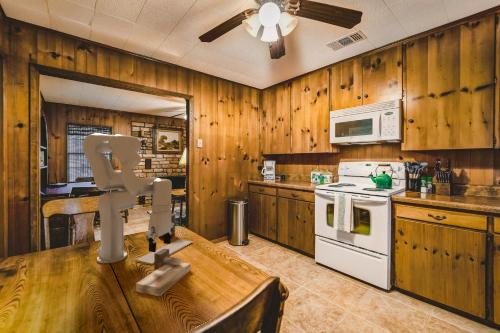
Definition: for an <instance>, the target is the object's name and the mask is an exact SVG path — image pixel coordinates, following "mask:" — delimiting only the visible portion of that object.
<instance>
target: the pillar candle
mask: <svg viewBox="0 0 500 333" xmlns="http://www.w3.org/2000/svg"><path fill="white" fill-rule="evenodd" d="M171 222H172V223H174V226H173V230H172V234H171V239H173V238H172V237H174V236H175V237H176V214H175V213H172V212H171ZM175 237H174V238H175ZM158 239H160V240H164V235H162V236H159V237H158Z"/></svg>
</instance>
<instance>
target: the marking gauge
mask: <svg viewBox="0 0 500 333" xmlns="http://www.w3.org/2000/svg"><path fill="white" fill-rule="evenodd" d="M181 262H182V260H181V258H179V257H171V256H170V255H169V249H162V250H160V251H158V252H157V253H155V254H154V264H153V267H154V270H153V272H154V271H155V270H157V269H158V268H160V267H161V266H163V265H164V264H173V265H179V264H180V263H181Z"/></svg>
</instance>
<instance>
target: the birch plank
mask: <svg viewBox="0 0 500 333" xmlns="http://www.w3.org/2000/svg"><path fill="white" fill-rule="evenodd" d="M190 271H191V263H189V262H182V261H181V263H180V264H179V265H173V264H164V265H163V266H161V267H160V268H158V269H157V270H155V271H154V270H153V271H152V272H151V273H149V274H148V275H146V276H145V277H143V278H142V279H140V280H139V281H137V282H136V283H135V286H136V287H135V292H138V293H141V294H147V295H152V296H157V297H161V296H162V295H164V293H166V292H167V291H168V290H169V289H171V288H172V287H173V286H174V285H175V284H176V283H178V282H179V281H180V280H181V279H183V278H184V277H185V276H186V275H188V274H189V272H190Z"/></svg>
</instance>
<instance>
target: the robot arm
mask: <svg viewBox="0 0 500 333" xmlns="http://www.w3.org/2000/svg"><path fill="white" fill-rule="evenodd" d="M141 149H142V143H141V141H140V139H139V138H138V137H136V136H134V135H126V134H115V135H114V134H104V133H91V134H88V135H86V136H85V137H84V139H83V142H82V151H83V154H84V156H85V158H86V160H87V162H88V164H89V166H90V170H91V173H92V176H93V180H94V183H95V185H96V188H97V189H98V190H99V191H102V192H105V191H108V192H106V193H103V194H101V195H100V196H99V197H98V199H97V207H98V208H97V209H98V211H99V218H100V219H99V220H100V226H99V228H100V246H99V247H98V249H96V250H95V253H97V254H98V256H97V258H96V262H97V263H98V264H112V263H117V262H120V261H123V260H124V259H126V258H127V257H128V252H127V251H125V250H124V249H125V246H124V242H125V239H124V230H125V229H124V228H125V227H124V218H123V216H122V214H121V213H120V211H124V210H125V211H126V210H128V209H132V208H134V207H135V206H136V205H137V203H138V202H137V201H138V197H142V196H148V195H152V200H151V201H152V205H151V212H150V215H149V220H148V227H147V231H146V233H145V235H144V236H145V238H146V241H147V243H148V252H149V253H151V252H156V250H157V239H158V238H159V236H162V235H164V239H163V244H166V245H168V244H170V243H172V242H171V240H172V238H171V234H172V230H173V226H174V223H172V222H171V213H172V211H171V210H172V189H173V188H172V187H173V186H172V185H173V184H172V180H170V179H167V178H159V177H157V176H150V177H148V176H146V177H138V176H137V175H136V173H135V171H134V170H133V169H135V168H137V166H139V165H140V163H141V162H142V157H141V155H140V154H139V152H140V151H141ZM103 152H104V153H113V155H114V156H115V157H116V159H117V160H118V161H119V164H120V165H121V170H118V169H117V170H114V168H113V166H112V163H111V161H110V159H109V158H108V157H107V155H106V154H104V153H103ZM113 190H114V191H113ZM115 190H117V191H115Z"/></svg>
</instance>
